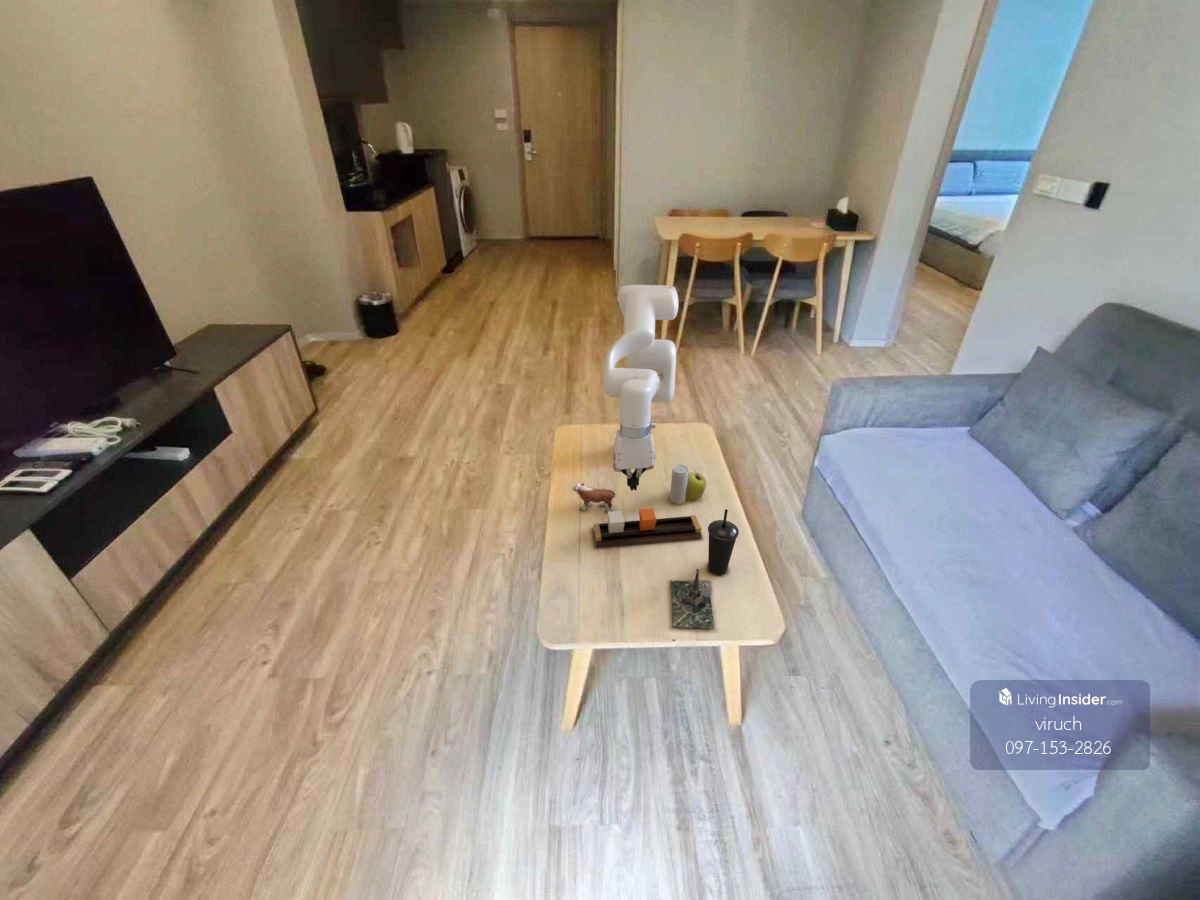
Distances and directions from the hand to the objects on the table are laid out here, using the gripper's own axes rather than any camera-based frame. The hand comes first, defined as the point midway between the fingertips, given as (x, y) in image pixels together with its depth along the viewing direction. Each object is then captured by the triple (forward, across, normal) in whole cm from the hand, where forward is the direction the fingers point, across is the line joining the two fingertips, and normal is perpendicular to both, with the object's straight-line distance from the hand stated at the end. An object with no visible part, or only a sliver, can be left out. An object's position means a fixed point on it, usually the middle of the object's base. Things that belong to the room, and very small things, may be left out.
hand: (632, 487), depth 144 cm
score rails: (+16, -5, -1) cm, 17 cm away
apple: (+17, -22, -16) cm, 33 cm away
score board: (+17, -5, -1) cm, 18 cm away
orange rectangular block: (+16, -5, -1) cm, 16 cm away
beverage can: (+17, -17, -15) cm, 28 cm away
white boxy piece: (+16, +4, -1) cm, 16 cm away
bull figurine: (+17, +9, -15) cm, 25 cm away
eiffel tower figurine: (+18, -11, +26) cm, 34 cm away
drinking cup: (+18, -21, +15) cm, 31 cm away
